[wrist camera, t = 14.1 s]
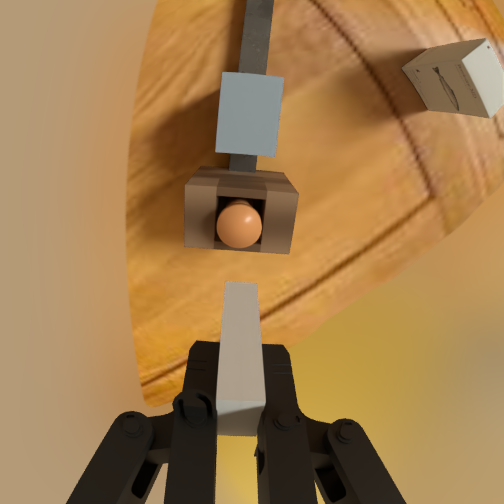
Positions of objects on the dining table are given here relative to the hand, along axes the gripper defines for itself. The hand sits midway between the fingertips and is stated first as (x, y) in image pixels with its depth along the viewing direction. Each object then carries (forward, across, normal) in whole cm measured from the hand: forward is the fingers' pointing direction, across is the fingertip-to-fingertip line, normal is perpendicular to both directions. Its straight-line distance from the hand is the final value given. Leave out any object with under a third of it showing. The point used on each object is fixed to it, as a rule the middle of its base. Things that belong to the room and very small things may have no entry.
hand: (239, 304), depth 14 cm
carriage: (+23, 0, +9) cm, 24 cm away
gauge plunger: (+17, 0, 0) cm, 17 cm away
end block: (+23, 0, 0) cm, 23 cm away
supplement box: (+23, +24, +20) cm, 39 cm away
